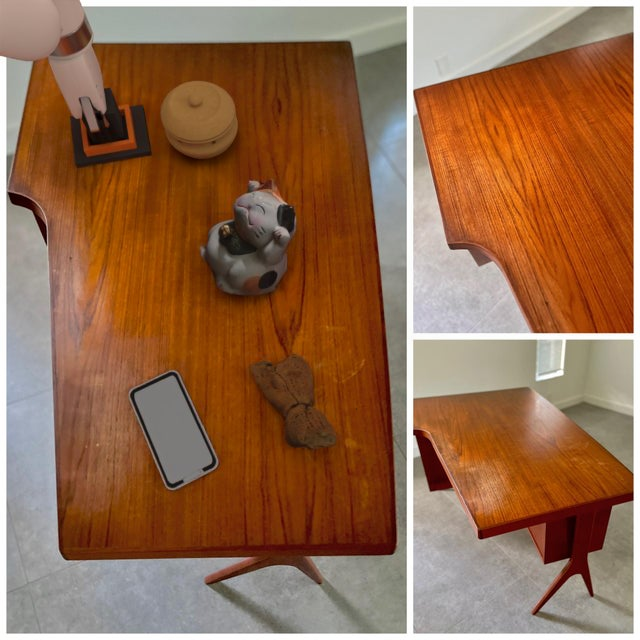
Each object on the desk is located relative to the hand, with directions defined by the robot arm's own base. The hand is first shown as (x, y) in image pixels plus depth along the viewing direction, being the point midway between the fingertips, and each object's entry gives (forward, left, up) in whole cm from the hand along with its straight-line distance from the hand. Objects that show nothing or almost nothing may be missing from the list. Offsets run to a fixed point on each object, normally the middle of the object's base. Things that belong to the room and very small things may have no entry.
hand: (106, 126), depth 86 cm
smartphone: (+3, -51, -3) cm, 51 cm away
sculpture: (+18, -52, -3) cm, 55 cm away
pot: (+15, -4, -3) cm, 16 cm away
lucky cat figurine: (+18, -27, -3) cm, 33 cm away
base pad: (0, 0, -3) cm, 3 cm away
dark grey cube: (0, 0, -1) cm, 1 cm away
